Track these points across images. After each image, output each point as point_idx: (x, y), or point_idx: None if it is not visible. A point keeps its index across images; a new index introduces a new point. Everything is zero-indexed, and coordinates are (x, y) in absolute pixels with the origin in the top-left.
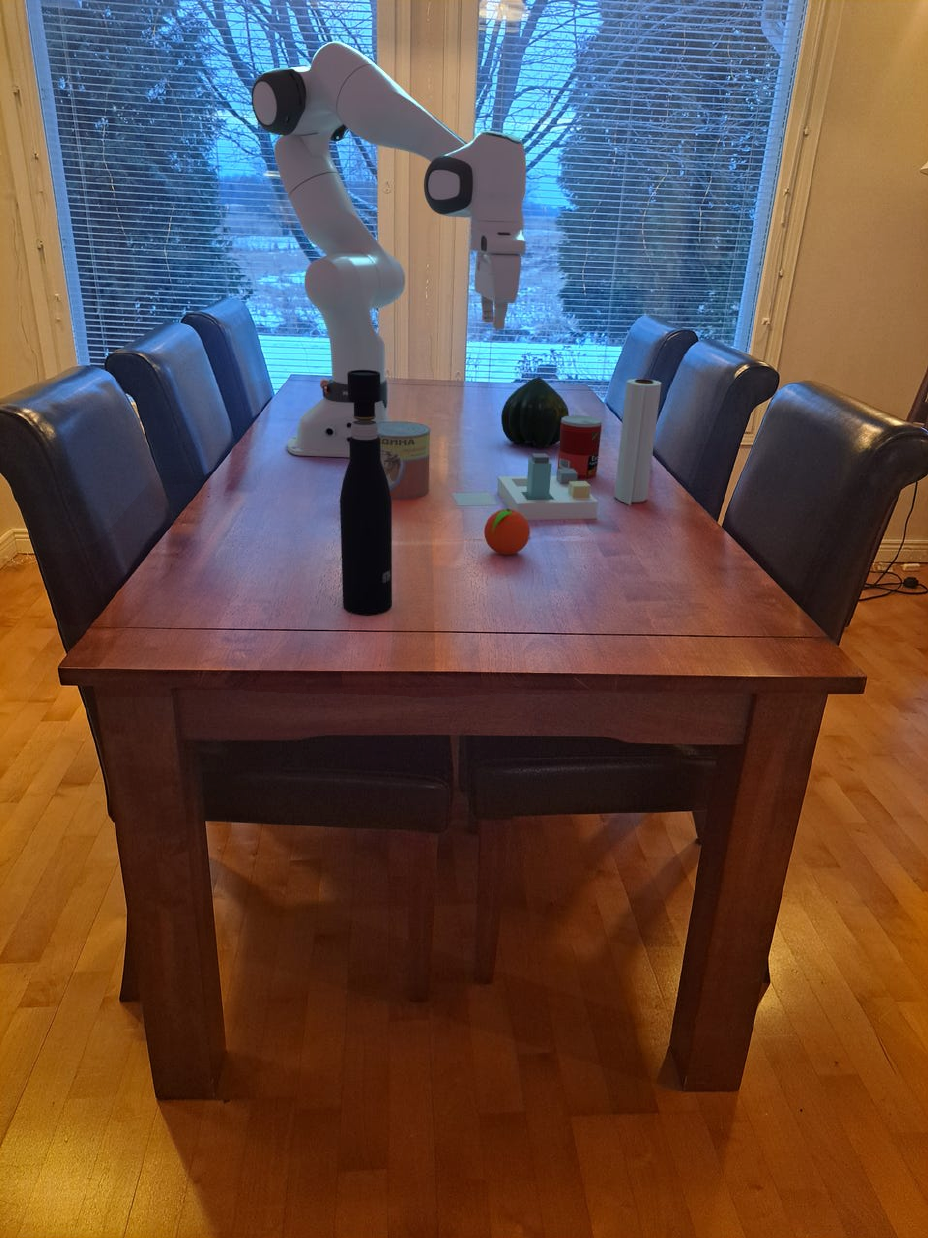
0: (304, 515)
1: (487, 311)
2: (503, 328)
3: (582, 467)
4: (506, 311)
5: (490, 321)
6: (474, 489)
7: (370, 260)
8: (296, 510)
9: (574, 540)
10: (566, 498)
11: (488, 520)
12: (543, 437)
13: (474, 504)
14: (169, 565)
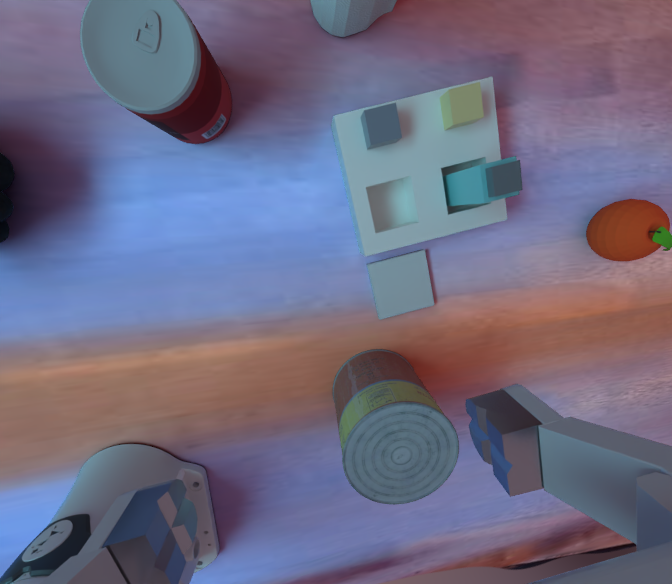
0: (473, 468)
1: (128, 580)
2: (515, 384)
3: (226, 87)
4: (662, 444)
5: (182, 491)
6: (335, 289)
7: None
8: (456, 481)
9: (554, 133)
10: (478, 135)
11: (639, 258)
12: (6, 168)
13: (427, 283)
14: None
